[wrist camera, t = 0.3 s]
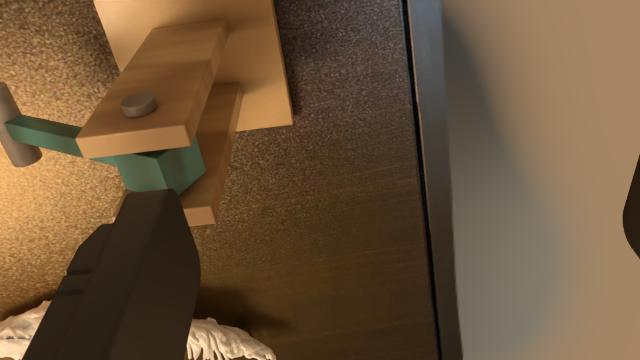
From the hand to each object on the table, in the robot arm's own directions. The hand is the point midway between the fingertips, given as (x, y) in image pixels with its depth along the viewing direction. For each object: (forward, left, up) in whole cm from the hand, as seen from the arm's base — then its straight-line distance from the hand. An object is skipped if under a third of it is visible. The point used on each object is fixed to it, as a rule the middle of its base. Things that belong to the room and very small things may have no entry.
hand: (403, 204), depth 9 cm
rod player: (+6, -13, -16) cm, 21 cm away
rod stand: (+6, -9, -24) cm, 26 cm away
